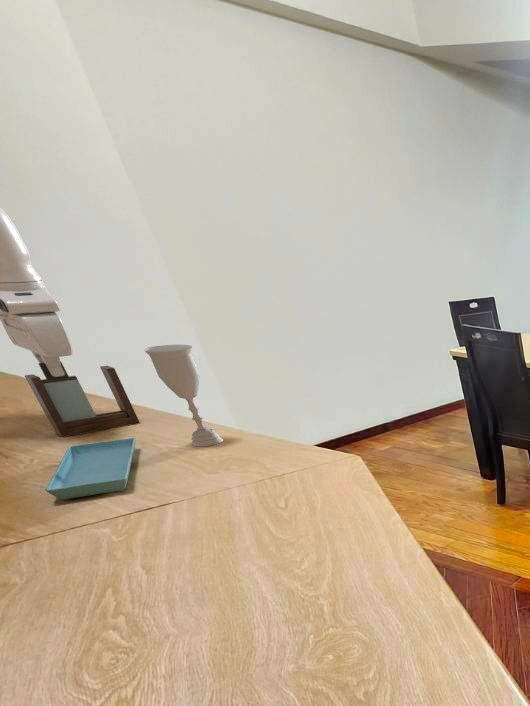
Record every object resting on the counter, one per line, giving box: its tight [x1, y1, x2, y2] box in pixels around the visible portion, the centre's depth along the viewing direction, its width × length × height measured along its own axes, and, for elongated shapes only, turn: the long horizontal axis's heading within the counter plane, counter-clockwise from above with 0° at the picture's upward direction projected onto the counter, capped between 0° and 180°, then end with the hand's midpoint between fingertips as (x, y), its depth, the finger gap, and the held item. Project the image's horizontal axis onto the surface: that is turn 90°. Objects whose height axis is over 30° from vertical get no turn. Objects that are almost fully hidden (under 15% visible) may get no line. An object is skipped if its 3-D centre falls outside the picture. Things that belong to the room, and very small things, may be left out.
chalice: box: [143, 344, 224, 447], centre depth 113 cm, size 7×7×18 cm
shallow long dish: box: [44, 437, 137, 500], centre depth 101 cm, size 26×9×2 cm, turn 39°
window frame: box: [24, 365, 141, 437], centre depth 119 cm, size 12×4×12 cm, turn 149°
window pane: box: [38, 360, 96, 422], centre depth 116 cm, size 5×1×12 cm, turn 149°
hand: (56, 375), depth 115 cm, fingers closed, pressing on window pane
